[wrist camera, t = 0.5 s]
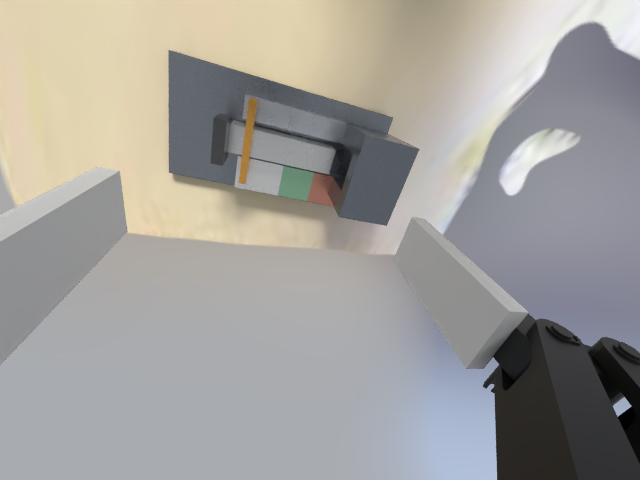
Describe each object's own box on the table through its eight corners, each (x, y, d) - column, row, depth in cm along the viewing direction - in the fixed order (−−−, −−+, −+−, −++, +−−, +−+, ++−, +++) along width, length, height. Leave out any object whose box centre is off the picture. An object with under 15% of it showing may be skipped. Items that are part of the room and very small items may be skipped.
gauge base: (171, 50, 28) (128, 38, 20) (390, 116, 35) (427, 128, 27) (171, 170, 34) (138, 200, 26) (357, 206, 41) (380, 240, 33)
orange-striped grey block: (225, 88, 29) (215, 90, 24) (337, 120, 33) (350, 128, 28) (218, 168, 34) (208, 184, 28) (319, 189, 37) (327, 207, 32)
